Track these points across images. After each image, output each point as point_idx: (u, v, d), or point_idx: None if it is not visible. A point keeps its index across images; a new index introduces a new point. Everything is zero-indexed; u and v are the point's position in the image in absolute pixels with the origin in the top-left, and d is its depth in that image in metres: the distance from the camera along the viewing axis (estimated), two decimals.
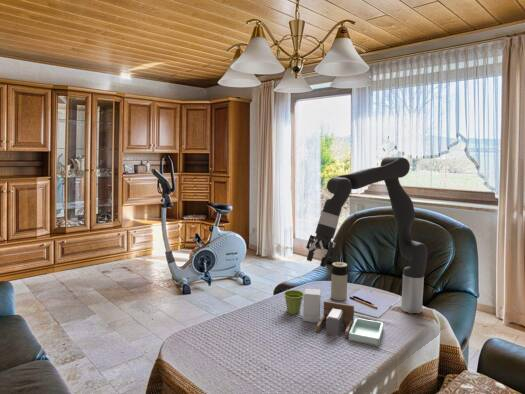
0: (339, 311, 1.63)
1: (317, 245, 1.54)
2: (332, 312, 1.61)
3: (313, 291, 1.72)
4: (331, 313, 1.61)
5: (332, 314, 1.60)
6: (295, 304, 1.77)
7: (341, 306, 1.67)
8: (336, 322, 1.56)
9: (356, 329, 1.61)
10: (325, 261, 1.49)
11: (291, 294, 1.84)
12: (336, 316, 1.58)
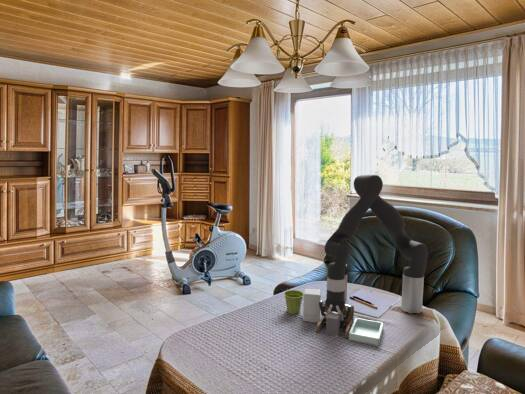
0: None
1: (333, 309, 1.60)
2: (332, 312, 1.61)
3: (313, 291, 1.72)
4: (331, 313, 1.61)
5: (332, 314, 1.60)
6: (295, 304, 1.77)
7: None
8: (336, 322, 1.56)
9: (356, 329, 1.61)
10: (343, 323, 1.60)
11: (291, 294, 1.84)
12: (336, 316, 1.58)
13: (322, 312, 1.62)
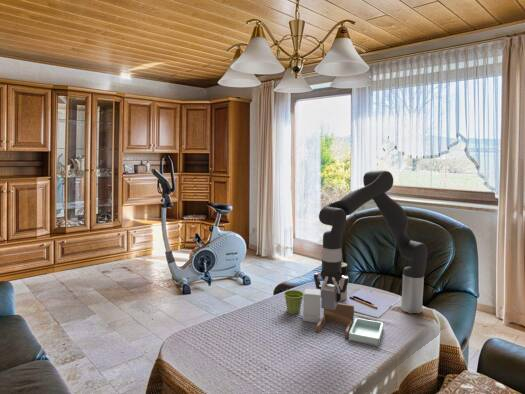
0: None
1: (329, 281, 1.48)
2: (328, 285, 1.50)
3: (313, 291, 1.72)
4: (327, 285, 1.49)
5: (328, 286, 1.48)
6: (295, 304, 1.77)
7: (341, 306, 1.67)
8: (332, 294, 1.45)
9: (356, 329, 1.61)
10: (340, 296, 1.48)
11: (291, 294, 1.84)
12: (332, 288, 1.46)
13: (317, 285, 1.51)
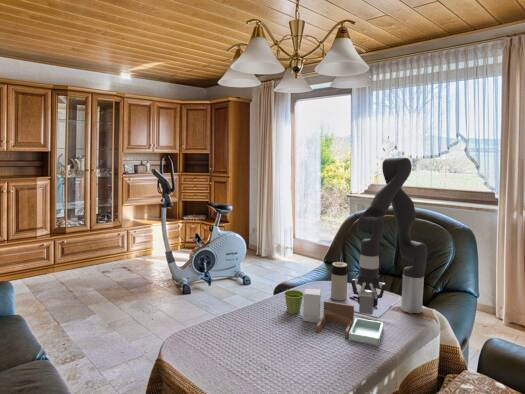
0: None
1: (367, 287, 1.55)
2: (365, 291, 1.56)
3: (313, 291, 1.72)
4: (364, 291, 1.55)
5: (365, 292, 1.54)
6: (295, 304, 1.77)
7: (341, 306, 1.67)
8: (370, 300, 1.51)
9: (356, 329, 1.61)
10: (377, 301, 1.55)
11: (291, 294, 1.84)
12: (370, 294, 1.52)
13: (354, 291, 1.57)
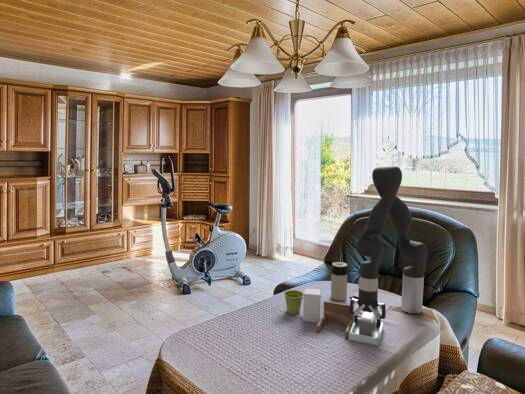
0: (371, 314, 1.59)
1: (365, 309, 1.56)
2: (365, 315, 1.57)
3: (313, 291, 1.72)
4: (364, 316, 1.57)
5: (365, 317, 1.56)
6: (295, 304, 1.77)
7: (341, 306, 1.67)
8: (370, 325, 1.52)
9: (356, 329, 1.61)
10: (380, 322, 1.55)
11: (291, 294, 1.84)
12: (369, 319, 1.54)
13: (351, 310, 1.58)
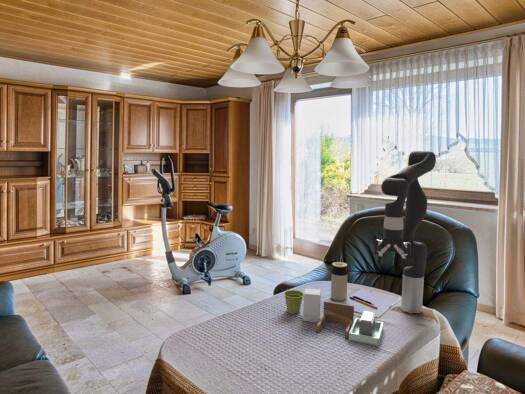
0: (371, 314, 1.59)
1: (390, 249, 1.57)
2: (365, 315, 1.57)
3: (313, 291, 1.72)
4: (364, 316, 1.57)
5: (365, 317, 1.56)
6: (295, 304, 1.77)
7: (341, 306, 1.67)
8: (370, 325, 1.52)
9: (356, 329, 1.61)
10: (405, 261, 1.56)
11: (291, 294, 1.84)
12: (369, 319, 1.54)
13: (375, 250, 1.59)
